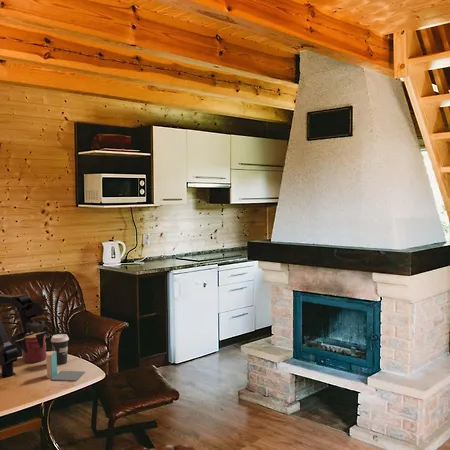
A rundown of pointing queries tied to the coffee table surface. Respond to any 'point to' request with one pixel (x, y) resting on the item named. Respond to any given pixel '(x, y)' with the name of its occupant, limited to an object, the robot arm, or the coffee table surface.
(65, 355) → the coffee cup
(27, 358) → the canister
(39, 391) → the coffee table surface
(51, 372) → the tile
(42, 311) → the robot arm
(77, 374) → the mat
